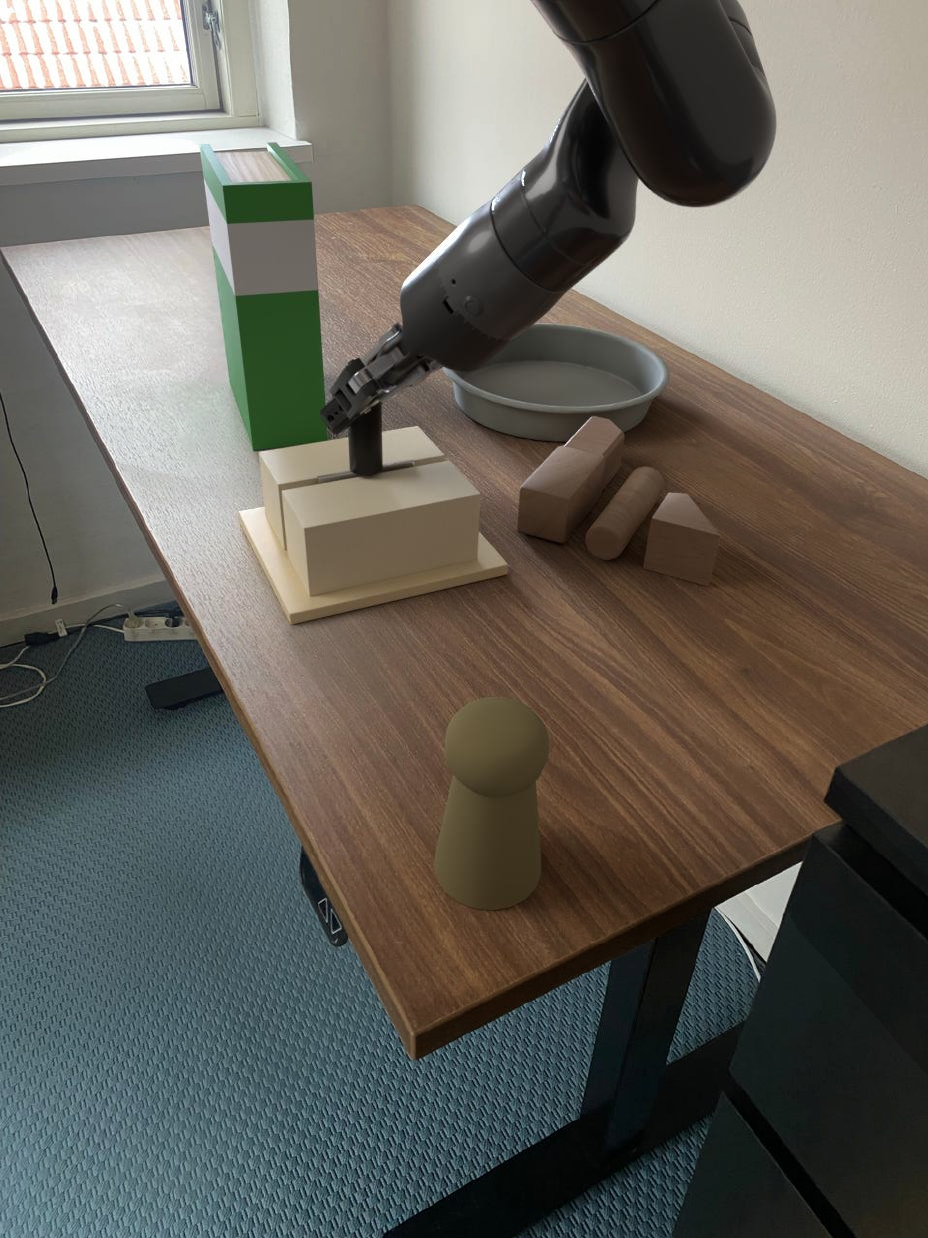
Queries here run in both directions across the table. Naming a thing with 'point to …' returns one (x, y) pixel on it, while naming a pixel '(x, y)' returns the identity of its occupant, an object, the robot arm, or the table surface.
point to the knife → (366, 449)
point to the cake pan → (561, 383)
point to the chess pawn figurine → (492, 804)
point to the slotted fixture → (365, 527)
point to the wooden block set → (615, 506)
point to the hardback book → (268, 292)
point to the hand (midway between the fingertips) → (342, 415)
